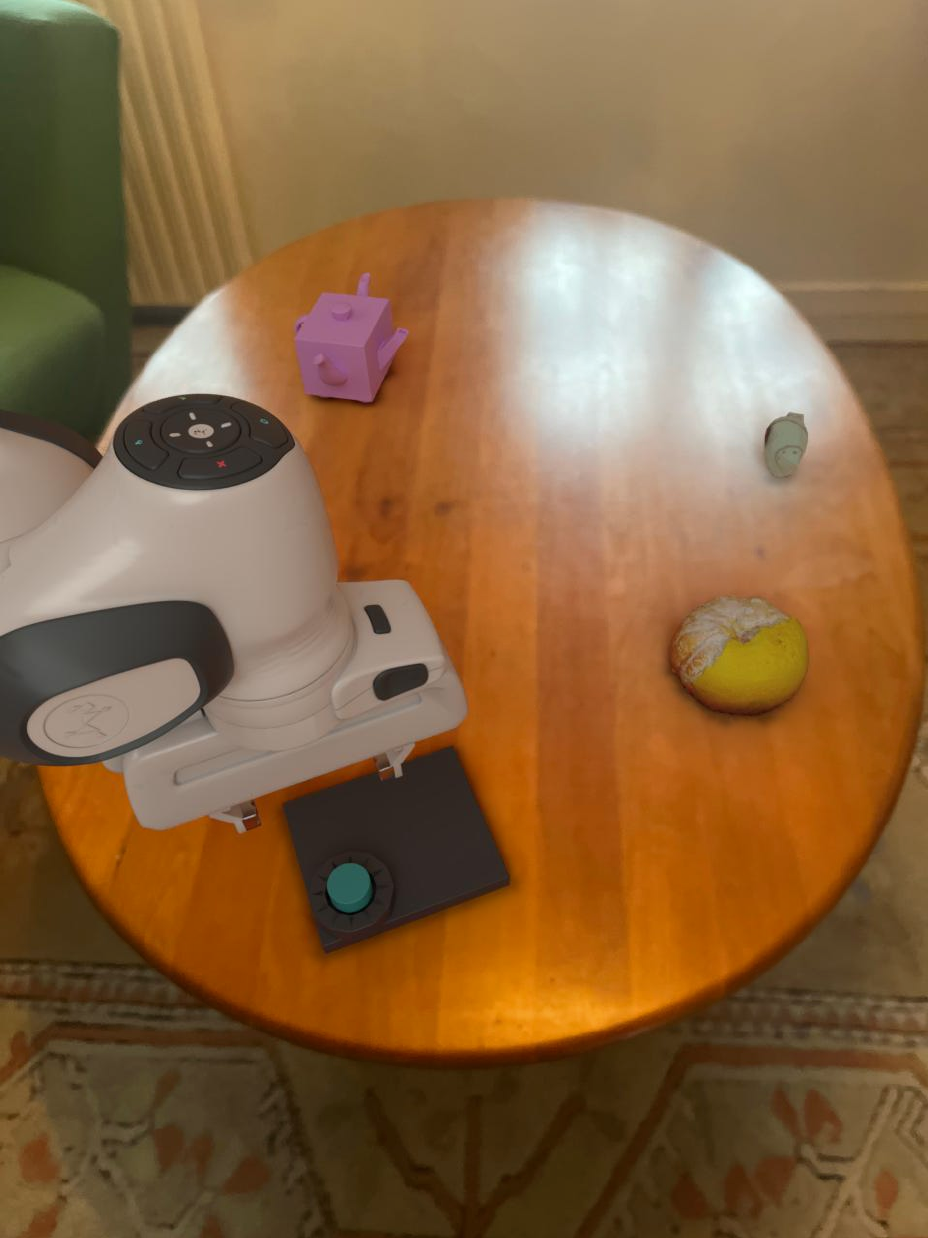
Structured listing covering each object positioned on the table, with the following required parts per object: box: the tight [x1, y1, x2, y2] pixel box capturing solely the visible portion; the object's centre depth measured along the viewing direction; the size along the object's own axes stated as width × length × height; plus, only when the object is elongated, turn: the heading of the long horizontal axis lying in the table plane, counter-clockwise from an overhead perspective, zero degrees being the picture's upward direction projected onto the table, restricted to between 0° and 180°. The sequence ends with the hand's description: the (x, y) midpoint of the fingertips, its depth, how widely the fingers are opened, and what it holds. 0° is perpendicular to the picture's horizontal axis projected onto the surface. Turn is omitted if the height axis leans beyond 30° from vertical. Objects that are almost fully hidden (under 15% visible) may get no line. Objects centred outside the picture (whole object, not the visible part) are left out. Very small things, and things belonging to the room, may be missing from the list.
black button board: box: [281, 745, 511, 955], centre depth 71 cm, size 14×12×3 cm
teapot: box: [293, 272, 410, 403], centre depth 106 cm, size 18×13×10 cm
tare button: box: [327, 863, 373, 913], centre depth 66 cm, size 3×3×2 cm
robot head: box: [763, 411, 809, 478], centre depth 94 cm, size 8×4×7 cm, turn 164°
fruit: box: [669, 594, 810, 717], centre depth 79 cm, size 11×10×8 cm
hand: (319, 795), depth 61 cm, fingers open, 8 cm apart
